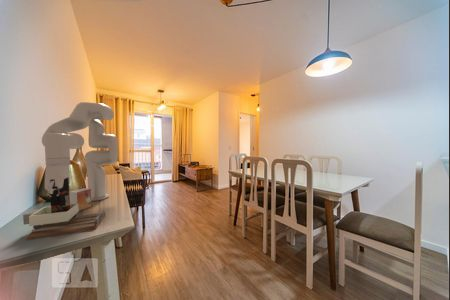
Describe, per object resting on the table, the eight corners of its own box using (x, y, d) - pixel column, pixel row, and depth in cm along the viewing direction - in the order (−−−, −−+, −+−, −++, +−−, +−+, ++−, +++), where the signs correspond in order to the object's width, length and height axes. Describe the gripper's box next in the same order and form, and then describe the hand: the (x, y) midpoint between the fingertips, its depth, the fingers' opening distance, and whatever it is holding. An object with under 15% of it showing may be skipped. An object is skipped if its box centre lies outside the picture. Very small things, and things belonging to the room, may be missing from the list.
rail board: (48, 222, 77) (48, 215, 77) (105, 215, 85) (104, 208, 85) (26, 239, 64) (25, 231, 64) (95, 229, 72) (95, 221, 72)
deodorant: (56, 210, 75) (54, 177, 74) (72, 208, 77) (71, 176, 76) (48, 216, 70) (46, 180, 69) (66, 213, 72) (64, 179, 71)
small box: (77, 212, 89) (76, 192, 89) (69, 210, 90) (68, 191, 90) (92, 206, 97) (91, 188, 96) (84, 205, 98) (83, 187, 98)
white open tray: (36, 221, 74) (35, 207, 74) (78, 215, 80) (78, 203, 79) (19, 232, 65) (18, 217, 64) (68, 225, 70) (67, 211, 70)
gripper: (58, 159, 78) (59, 197, 80) (32, 165, 63) (35, 211, 64) (78, 159, 81) (79, 195, 82) (58, 164, 65) (60, 208, 66)
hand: (60, 202), depth 73 cm, fingers closed on deodorant, 5 cm apart
